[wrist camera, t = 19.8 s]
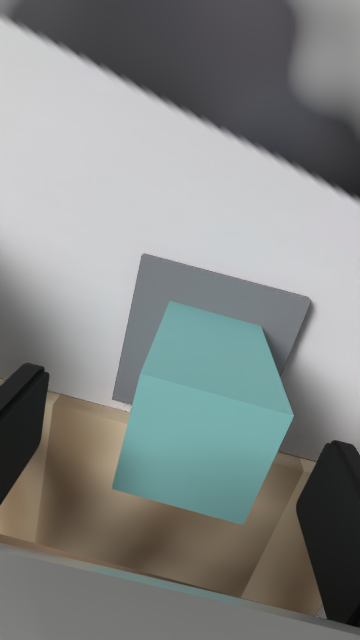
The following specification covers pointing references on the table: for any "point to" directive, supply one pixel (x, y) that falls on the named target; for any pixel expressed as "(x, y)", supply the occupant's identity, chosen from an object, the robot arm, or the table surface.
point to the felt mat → (206, 294)
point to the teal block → (204, 416)
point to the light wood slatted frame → (157, 515)
